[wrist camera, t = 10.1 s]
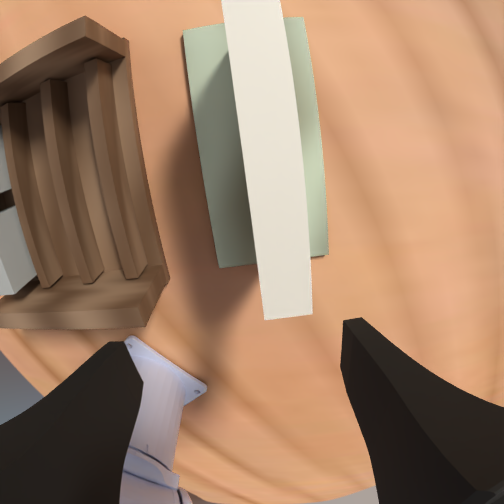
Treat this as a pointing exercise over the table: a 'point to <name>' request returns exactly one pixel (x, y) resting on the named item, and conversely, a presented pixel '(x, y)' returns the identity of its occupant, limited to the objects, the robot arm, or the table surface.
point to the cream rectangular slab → (271, 153)
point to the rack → (124, 172)
